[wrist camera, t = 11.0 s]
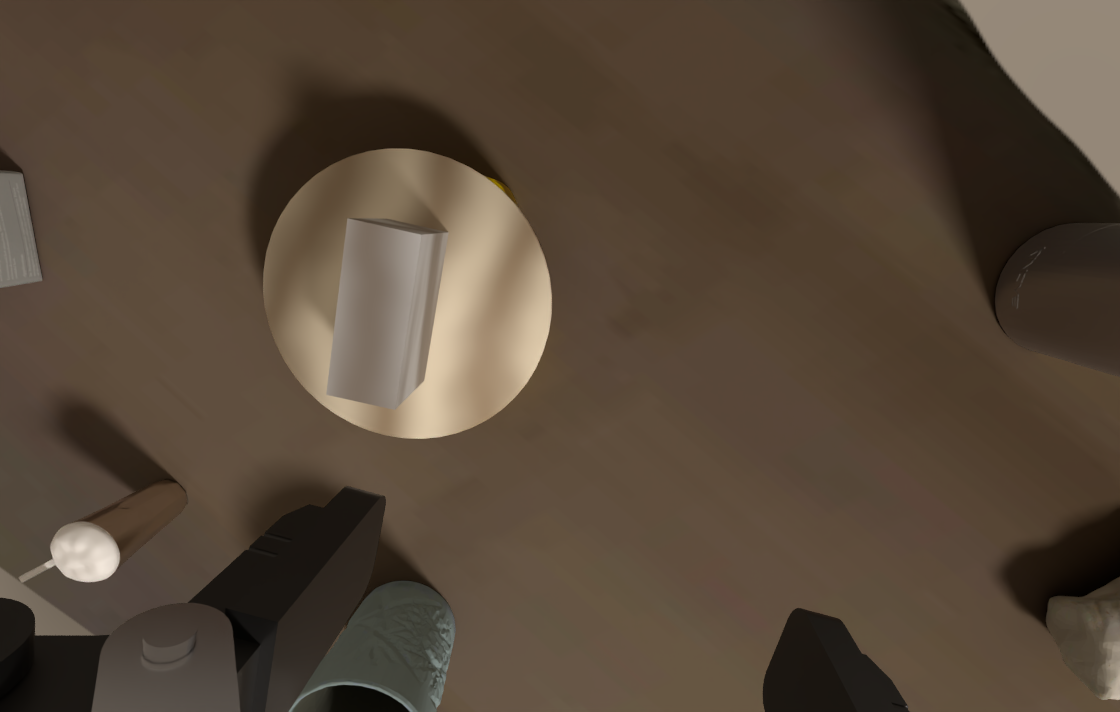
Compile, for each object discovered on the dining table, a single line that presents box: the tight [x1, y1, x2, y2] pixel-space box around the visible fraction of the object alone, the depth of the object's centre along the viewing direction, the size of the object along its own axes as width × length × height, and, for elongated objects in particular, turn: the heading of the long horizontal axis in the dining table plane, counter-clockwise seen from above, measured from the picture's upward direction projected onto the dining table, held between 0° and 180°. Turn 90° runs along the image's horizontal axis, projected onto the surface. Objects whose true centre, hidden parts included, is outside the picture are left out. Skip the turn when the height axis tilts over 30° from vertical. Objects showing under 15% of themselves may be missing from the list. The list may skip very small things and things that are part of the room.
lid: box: [263, 148, 552, 439], centre depth 34 cm, size 19×19×7 cm
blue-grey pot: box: [289, 581, 455, 712], centre depth 43 cm, size 10×10×12 cm
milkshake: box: [19, 479, 187, 583], centre depth 42 cm, size 4×5×10 cm
